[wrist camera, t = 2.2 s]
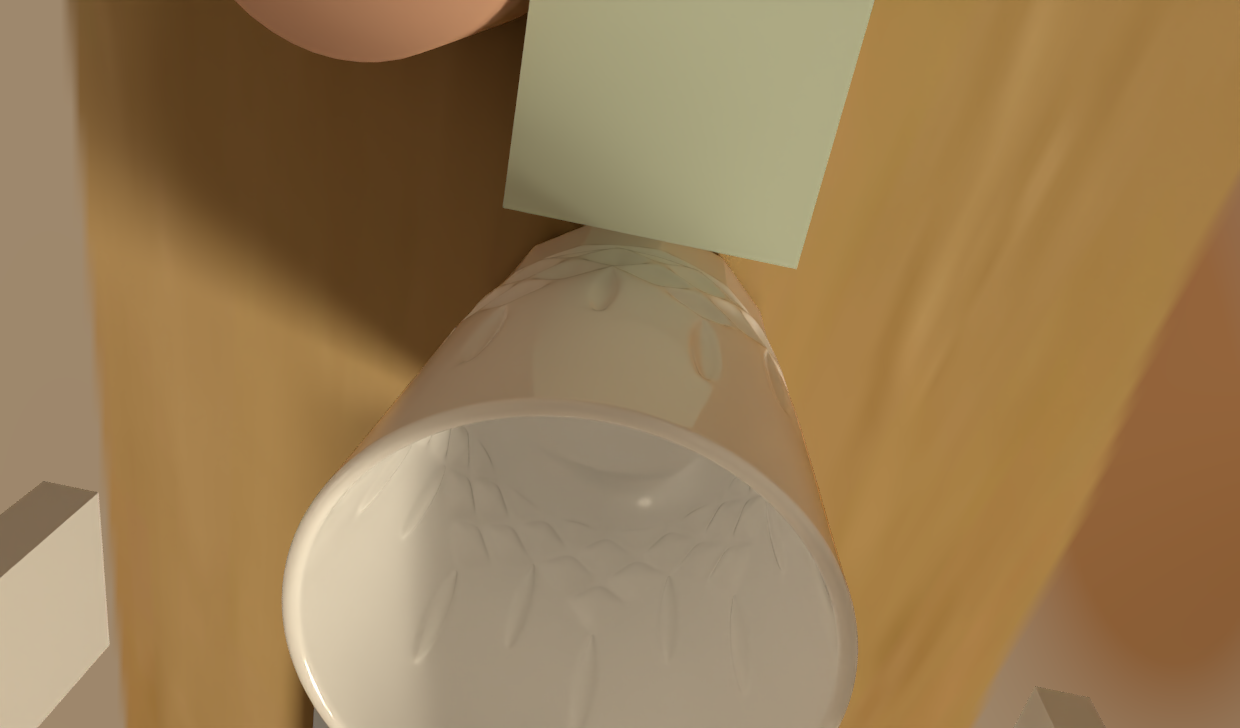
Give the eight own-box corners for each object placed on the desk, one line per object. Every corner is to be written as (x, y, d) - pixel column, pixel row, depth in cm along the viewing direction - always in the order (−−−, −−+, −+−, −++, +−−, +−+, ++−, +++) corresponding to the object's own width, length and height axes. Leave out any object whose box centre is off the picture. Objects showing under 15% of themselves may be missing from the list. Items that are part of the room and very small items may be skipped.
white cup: (497, 149, 19) (312, 323, 10) (841, 249, 19) (959, 504, 10) (436, 447, 23) (256, 776, 14) (730, 528, 23) (746, 904, 14)
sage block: (589, -108, 17) (546, -131, 12) (842, -56, 17) (891, -59, 12) (551, 148, 19) (503, 208, 15) (775, 195, 19) (796, 269, 15)
